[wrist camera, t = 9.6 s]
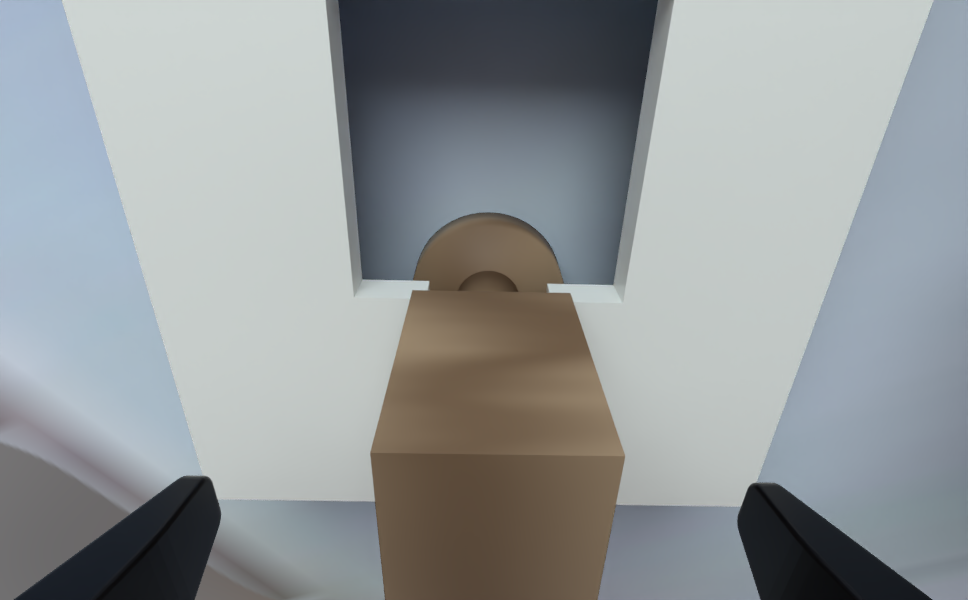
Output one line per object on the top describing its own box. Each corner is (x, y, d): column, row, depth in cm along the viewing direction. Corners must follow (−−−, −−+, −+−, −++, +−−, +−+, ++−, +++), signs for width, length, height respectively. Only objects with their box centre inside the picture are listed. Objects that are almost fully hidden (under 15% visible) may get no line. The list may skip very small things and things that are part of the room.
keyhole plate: (942, -413, 10) (1162, -620, 7) (703, 427, 19) (747, 506, 16) (61, -457, 9) (-145, -697, 6) (255, 420, 19) (209, 499, 15)
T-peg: (565, 214, 15) (664, 431, 7) (552, 343, 17) (617, 628, 9) (412, 211, 15) (332, 426, 7) (418, 341, 17) (361, 626, 9)
